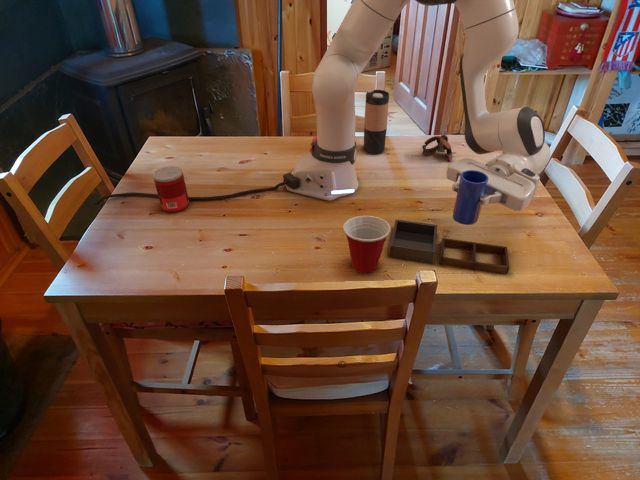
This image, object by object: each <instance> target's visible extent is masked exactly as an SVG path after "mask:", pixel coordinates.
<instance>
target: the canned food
mask: <svg viewBox="0 0 640 480" xmlns="http://www.w3.org/2000/svg"><path fill="white" fill-rule="evenodd" d="M152 178H153V182H154V186H155V189H156V194H158V197H157V198H158V200H159V203H160V206H161V209H162V210H163V211H164V212H167V213H178V212H181V211H184V210H185V209H187V208H188V206H189V204H190V200H189V198H188V197H189V194H188V191H187V186H186V185H187V184H186V180H185V177H184V173H183V169H182V168H181V167H179V166H174V165H172V166H170V165H169V166H164V167H160V168H158V169H156V170H155V171H154V172H153V174H152Z"/></svg>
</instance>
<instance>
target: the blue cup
mask: <svg viewBox="0 0 640 480" xmlns="http://www.w3.org/2000/svg"><path fill="white" fill-rule="evenodd" d="M487 183H488V176H487V175H486V174H484V173H483V172H480V171H476V170H467V171H464V172H462V173H461V176H460V181H459V186H458V191H457V192H456V195H455V200H454V206H453V210H452V219H453V220H454V222H456V223H458V224H459V225H460V224H461V225H464V226H472V225H475V224H477V223H478V222H479V219H480V214H481V211H482V206H483V205H482V204H480V203H479V201H480V197H481V196H483V195H485V191H486V187H487Z"/></svg>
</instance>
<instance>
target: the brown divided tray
mask: <svg viewBox="0 0 640 480" xmlns="http://www.w3.org/2000/svg"><path fill="white" fill-rule="evenodd" d="M445 247H450V248H458V249H466V250H471V260H469V259H461V258H460V259H459V258H455V257H447V256H445V254H444V253H445ZM477 251H480V252H487V253H494V254H501V255H502V257H503V258H502V259H503V264H495V263H489V262H482V261H481V262H480V261H477V255H476V254H477ZM508 251H509V250H508V246H504V245H499V244H498V245H497V244H491V243H482V242H475V241H468V240H461V239H455V238H454V239H453V238H446V237H442V238H441V242H440V255H439V265H443V266H449V267H457V268H463V269H470V270H477V271H483V272H490V273H497V274H504V275H508V274H509V271H510V261H509V252H508Z"/></svg>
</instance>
